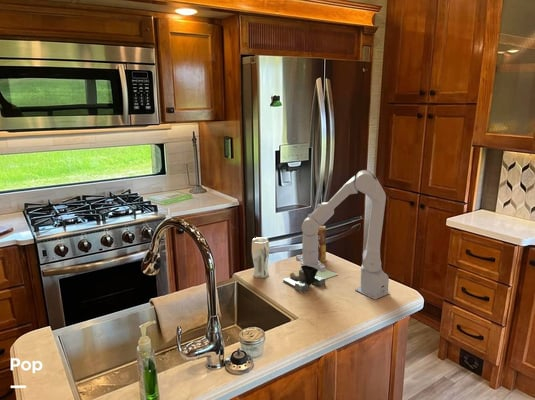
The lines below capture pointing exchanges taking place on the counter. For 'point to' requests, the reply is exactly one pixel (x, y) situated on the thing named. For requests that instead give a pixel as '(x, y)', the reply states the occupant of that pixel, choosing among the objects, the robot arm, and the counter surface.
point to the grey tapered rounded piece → (300, 277)
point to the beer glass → (260, 257)
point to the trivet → (326, 274)
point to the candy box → (322, 244)
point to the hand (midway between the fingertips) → (310, 283)
